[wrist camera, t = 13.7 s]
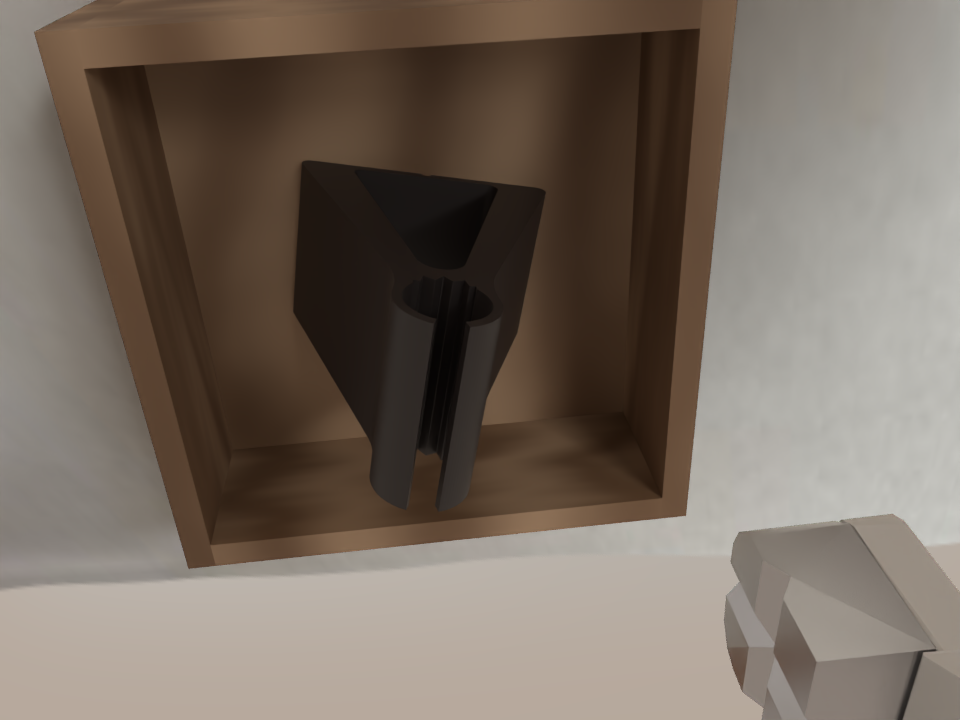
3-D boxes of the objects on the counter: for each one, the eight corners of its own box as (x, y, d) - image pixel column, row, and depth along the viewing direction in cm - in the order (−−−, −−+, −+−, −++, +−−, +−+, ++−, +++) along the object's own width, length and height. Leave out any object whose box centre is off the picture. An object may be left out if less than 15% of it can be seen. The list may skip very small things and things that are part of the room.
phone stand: (544, 188, 33) (624, 341, 22) (515, 328, 36) (575, 520, 25) (302, 157, 31) (268, 306, 21) (292, 306, 34) (258, 502, 24)
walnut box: (665, -39, 30) (738, -12, 24) (638, 415, 40) (685, 515, 34) (105, -5, 29) (34, 31, 23) (217, 456, 38) (188, 568, 32)
